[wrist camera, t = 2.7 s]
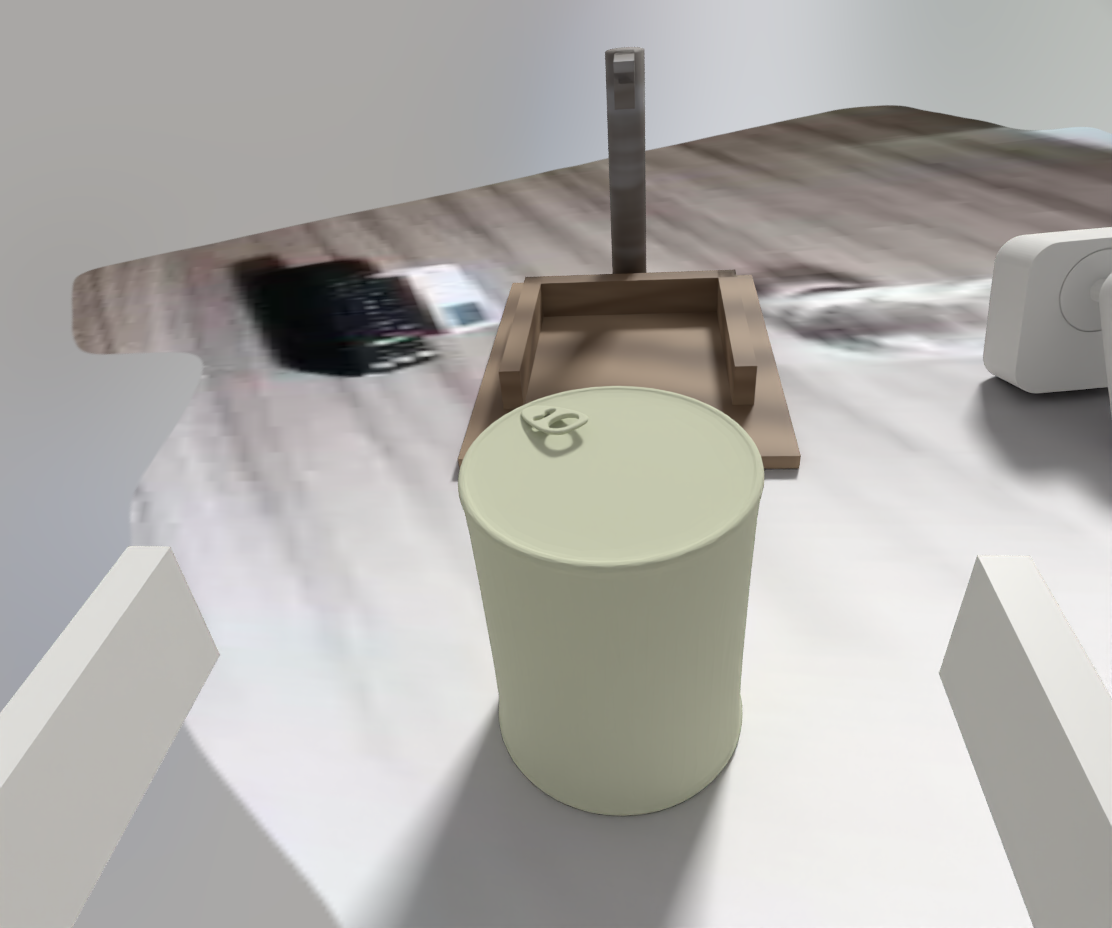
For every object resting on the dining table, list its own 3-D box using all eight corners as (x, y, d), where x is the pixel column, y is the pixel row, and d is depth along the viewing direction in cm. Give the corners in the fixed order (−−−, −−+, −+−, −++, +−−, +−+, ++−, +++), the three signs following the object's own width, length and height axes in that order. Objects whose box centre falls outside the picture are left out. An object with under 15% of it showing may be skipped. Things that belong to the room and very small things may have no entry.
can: (627, 583, 36) (620, 345, 29) (794, 713, 30) (836, 451, 23) (453, 695, 32) (396, 447, 25) (607, 873, 26) (588, 612, 19)
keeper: (799, 468, 42) (843, 129, 32) (459, 470, 44) (402, 153, 34) (750, 285, 60) (769, 33, 50) (513, 292, 62) (486, 52, 52)
